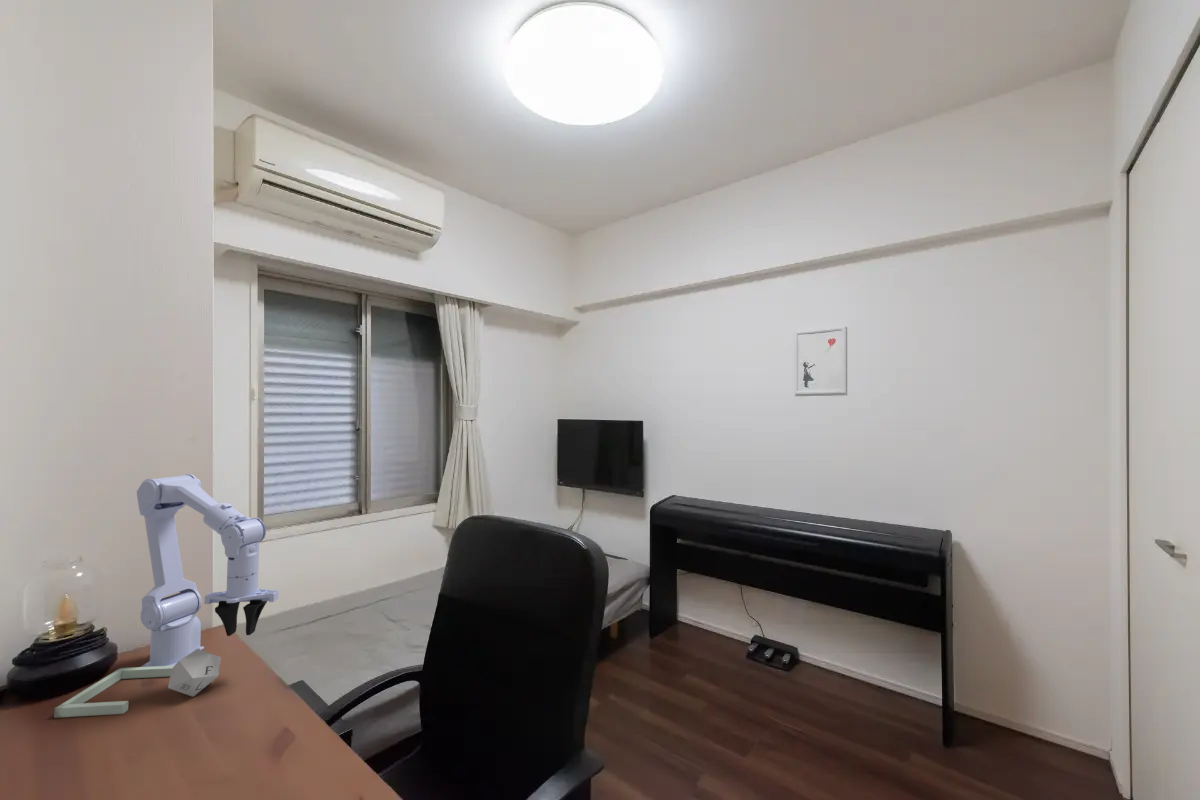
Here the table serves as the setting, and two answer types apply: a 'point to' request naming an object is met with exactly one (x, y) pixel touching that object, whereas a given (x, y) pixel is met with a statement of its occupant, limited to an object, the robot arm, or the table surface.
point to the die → (194, 672)
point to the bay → (80, 708)
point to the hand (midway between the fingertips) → (241, 633)
